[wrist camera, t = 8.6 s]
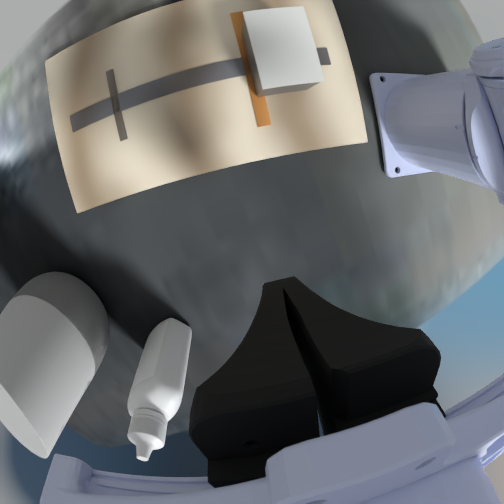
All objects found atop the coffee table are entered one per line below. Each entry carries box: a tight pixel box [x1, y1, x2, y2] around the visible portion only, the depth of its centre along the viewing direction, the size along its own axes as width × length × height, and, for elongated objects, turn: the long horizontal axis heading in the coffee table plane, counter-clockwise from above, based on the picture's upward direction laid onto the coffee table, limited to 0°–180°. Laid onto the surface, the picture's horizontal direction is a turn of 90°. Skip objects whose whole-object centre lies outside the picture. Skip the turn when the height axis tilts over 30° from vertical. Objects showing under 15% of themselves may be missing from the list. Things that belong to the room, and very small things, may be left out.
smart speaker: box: [0, 272, 109, 458], centre depth 15 cm, size 10×9×14 cm
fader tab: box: [242, 6, 325, 97], centre depth 12 cm, size 3×4×3 cm
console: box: [45, 0, 368, 213], centre depth 15 cm, size 20×12×2 cm, turn 102°
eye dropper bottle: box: [127, 318, 192, 461], centre depth 18 cm, size 4×6×12 cm
